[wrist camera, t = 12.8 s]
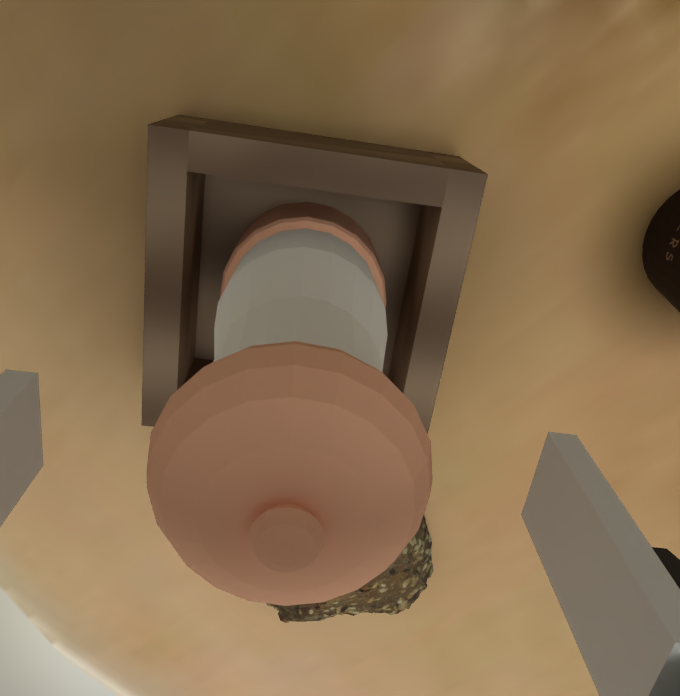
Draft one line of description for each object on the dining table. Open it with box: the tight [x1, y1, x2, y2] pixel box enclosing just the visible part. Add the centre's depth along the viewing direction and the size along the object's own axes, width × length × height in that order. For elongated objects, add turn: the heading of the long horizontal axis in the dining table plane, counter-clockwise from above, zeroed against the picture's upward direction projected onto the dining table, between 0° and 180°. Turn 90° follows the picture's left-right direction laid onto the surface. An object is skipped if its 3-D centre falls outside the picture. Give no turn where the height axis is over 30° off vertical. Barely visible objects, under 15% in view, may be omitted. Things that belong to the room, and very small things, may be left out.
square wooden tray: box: [142, 115, 488, 434], centre depth 29 cm, size 13×13×6 cm
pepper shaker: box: [147, 202, 432, 606], centre depth 22 cm, size 7×7×19 cm
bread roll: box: [267, 515, 433, 623], centre depth 36 cm, size 13×12×5 cm
